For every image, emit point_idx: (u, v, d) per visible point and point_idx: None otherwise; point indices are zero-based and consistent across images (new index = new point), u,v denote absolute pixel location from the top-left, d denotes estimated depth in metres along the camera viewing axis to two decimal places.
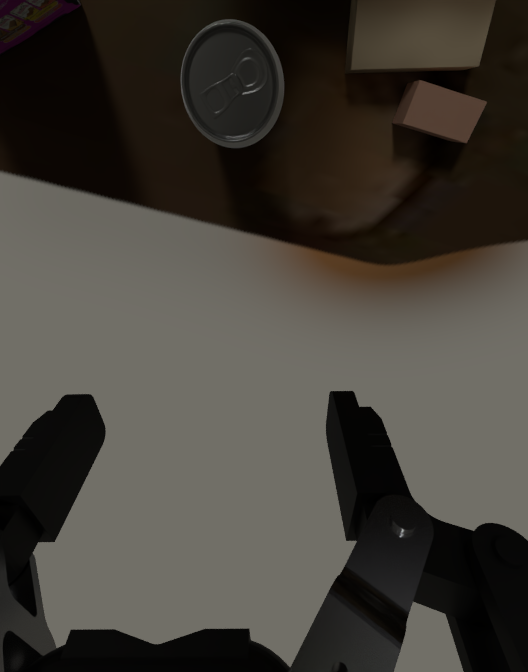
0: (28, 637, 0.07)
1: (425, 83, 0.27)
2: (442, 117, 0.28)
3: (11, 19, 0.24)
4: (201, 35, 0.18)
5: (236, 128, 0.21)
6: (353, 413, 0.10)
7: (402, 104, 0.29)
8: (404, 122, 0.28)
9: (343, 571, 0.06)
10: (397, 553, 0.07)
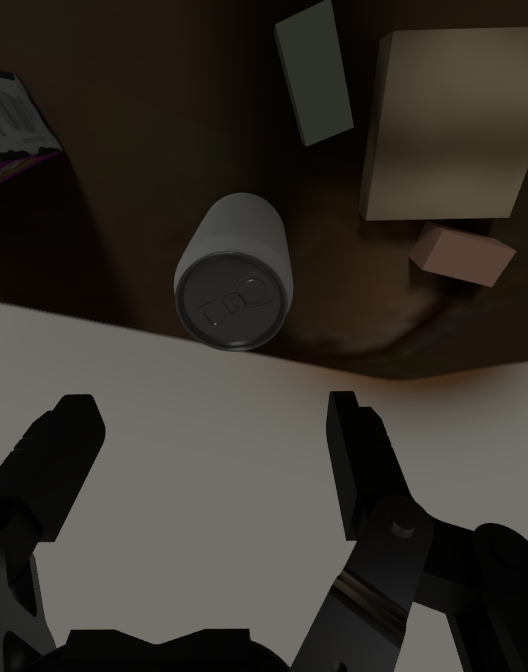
0: (28, 637, 0.07)
1: (448, 234, 0.24)
2: (465, 264, 0.25)
3: None
4: (197, 263, 0.15)
5: (238, 337, 0.18)
6: (353, 413, 0.10)
7: (420, 242, 0.26)
8: (423, 269, 0.25)
9: (343, 571, 0.06)
10: (397, 553, 0.07)
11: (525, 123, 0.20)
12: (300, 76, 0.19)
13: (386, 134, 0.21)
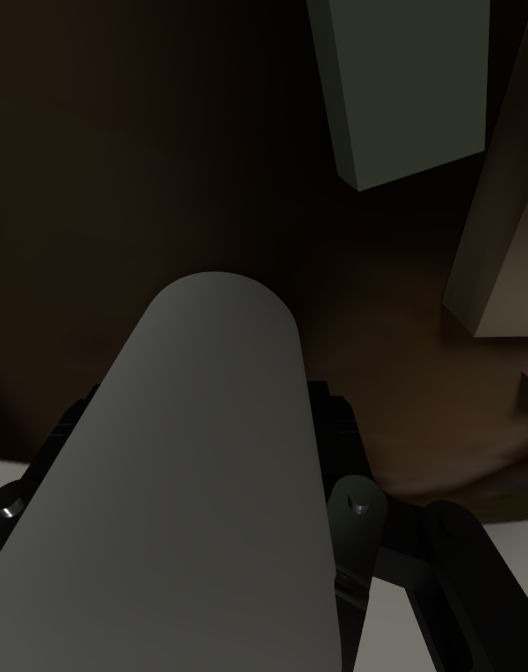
0: None
1: None
2: None
3: None
4: None
5: None
6: (323, 401, 0.10)
7: None
8: None
9: None
10: (356, 529, 0.07)
11: None
12: (364, 2, 0.07)
13: None
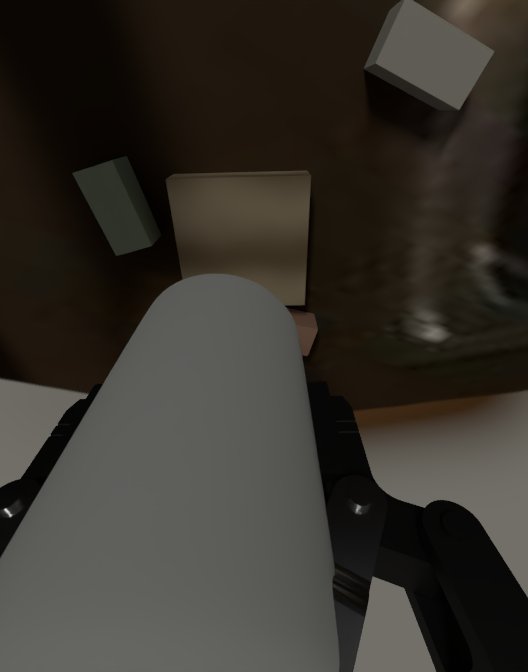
0: None
1: None
2: None
3: None
4: None
5: None
6: (323, 401, 0.10)
7: None
8: None
9: None
10: (357, 529, 0.07)
11: (293, 240, 0.25)
12: (100, 208, 0.24)
13: (183, 247, 0.26)
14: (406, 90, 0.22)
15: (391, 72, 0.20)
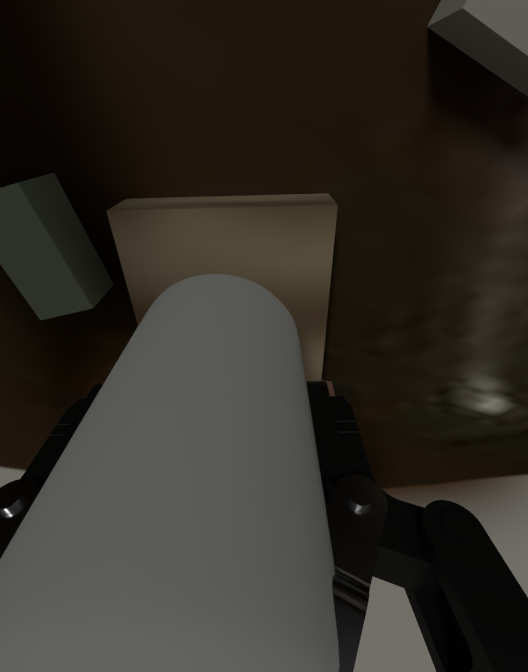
0: None
1: None
2: None
3: None
4: None
5: None
6: (323, 401, 0.10)
7: None
8: None
9: None
10: (356, 529, 0.07)
11: (306, 297, 0.17)
12: (8, 255, 0.15)
13: (142, 307, 0.17)
14: (494, 66, 0.13)
15: (487, 27, 0.11)
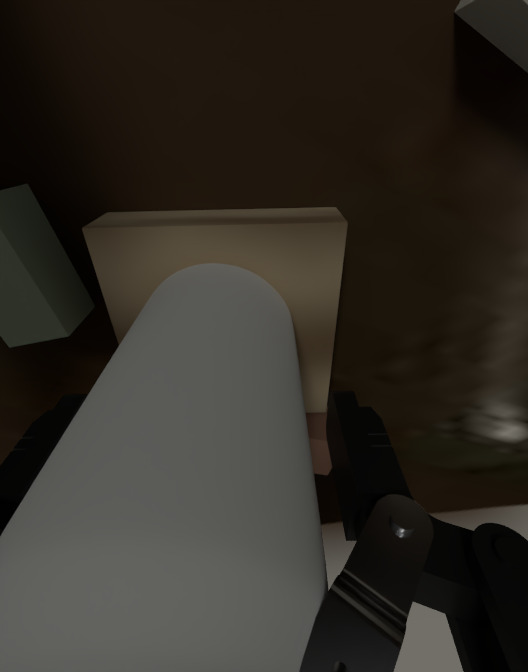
0: None
1: None
2: None
3: None
4: None
5: None
6: (353, 413, 0.10)
7: None
8: None
9: (343, 571, 0.06)
10: (397, 553, 0.07)
11: (310, 324, 0.15)
12: None
13: None
14: None
15: None
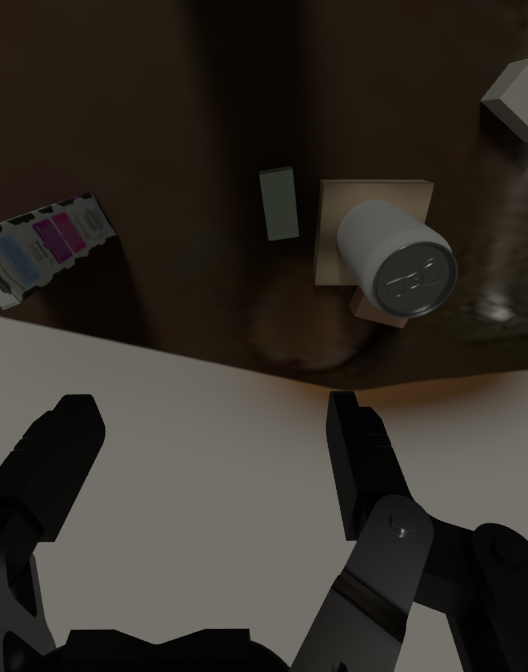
0: (28, 637, 0.07)
1: None
2: (383, 313, 0.37)
3: None
4: (402, 249, 0.21)
5: (408, 307, 0.24)
6: (353, 413, 0.10)
7: (355, 296, 0.39)
8: (355, 315, 0.37)
9: (343, 571, 0.06)
10: (397, 553, 0.07)
11: None
12: (270, 203, 0.31)
13: (324, 236, 0.33)
14: (507, 122, 0.30)
15: (508, 107, 0.27)
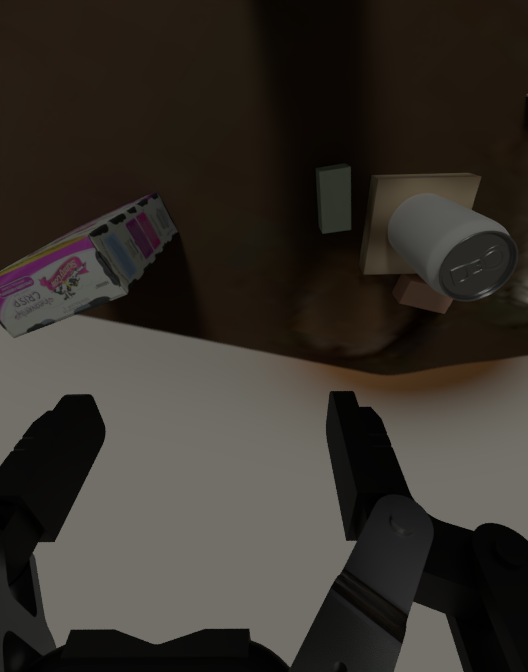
0: (29, 637, 0.07)
1: (414, 282, 0.38)
2: (426, 300, 0.40)
3: None
4: (469, 238, 0.24)
5: (469, 291, 0.26)
6: (353, 413, 0.10)
7: (398, 284, 0.41)
8: (400, 302, 0.40)
9: (343, 571, 0.06)
10: (397, 553, 0.07)
11: None
12: (327, 198, 0.33)
13: (375, 228, 0.35)
14: None
15: None
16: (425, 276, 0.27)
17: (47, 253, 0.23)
